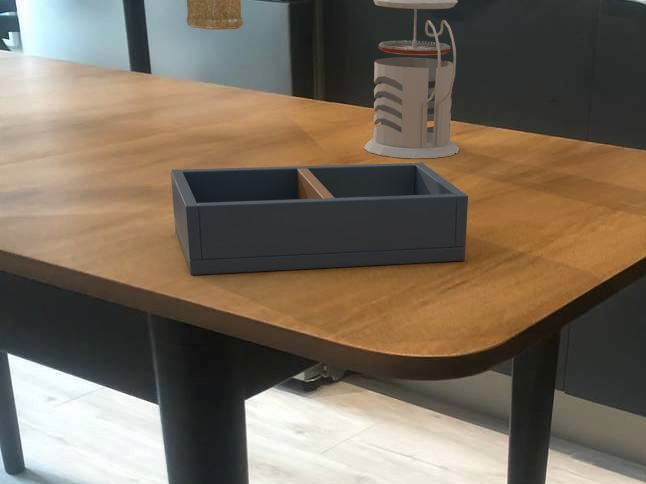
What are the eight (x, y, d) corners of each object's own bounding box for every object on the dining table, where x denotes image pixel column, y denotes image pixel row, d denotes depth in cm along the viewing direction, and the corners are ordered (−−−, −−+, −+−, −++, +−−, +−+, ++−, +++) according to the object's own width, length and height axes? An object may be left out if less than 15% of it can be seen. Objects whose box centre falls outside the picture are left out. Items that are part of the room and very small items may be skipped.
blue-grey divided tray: (190, 275, 71) (185, 206, 69) (175, 232, 80) (170, 169, 78) (465, 260, 76) (468, 195, 74) (420, 221, 85) (422, 162, 83)
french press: (431, 137, 116) (440, -135, 104) (486, 158, 108) (504, -136, 95) (347, 142, 112) (347, -140, 100) (398, 165, 103) (405, -142, 91)
